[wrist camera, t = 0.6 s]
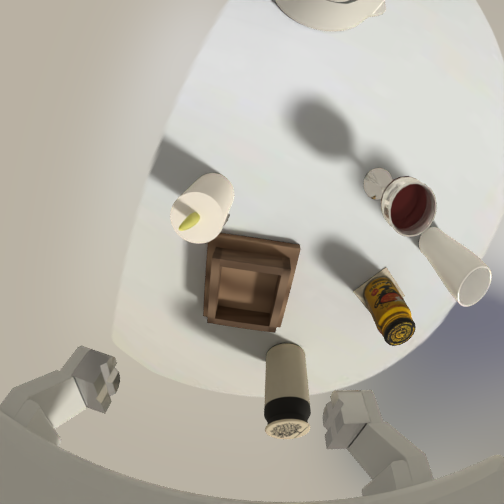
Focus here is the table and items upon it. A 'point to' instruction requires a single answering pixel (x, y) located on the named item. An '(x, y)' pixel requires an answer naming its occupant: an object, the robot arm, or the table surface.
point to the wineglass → (402, 201)
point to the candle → (203, 208)
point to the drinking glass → (456, 266)
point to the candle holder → (248, 281)
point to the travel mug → (286, 392)
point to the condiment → (387, 307)
